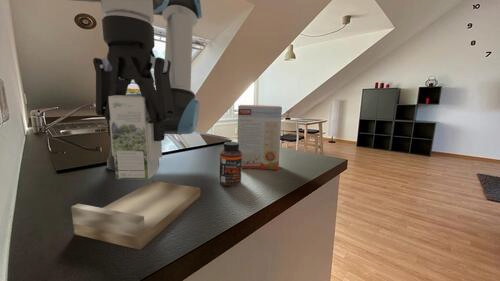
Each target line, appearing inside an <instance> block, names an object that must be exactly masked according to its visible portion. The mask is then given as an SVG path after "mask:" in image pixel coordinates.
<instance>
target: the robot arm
mask: <svg viewBox="0 0 500 281" xmlns="http://www.w3.org/2000/svg"><path fill="white" fill-rule="evenodd" d="M67 1H69V2H70V1H75V2H76V1H78V2H89V3H100V9H101V14H102V15H103V16H104V17H102V19H101V24H102V37H103V38H102V39H103V41H104V43H105V44H106V45H107V46H108V51H107V55H106V57H102V58H99V57H94V58H93V59H92V60H93V61H92V63H93V66H94V70H95V113H96V115H98V116H101V117H104V119H105V120H106V123H107V132H108V134H107V135H108V137H110V144H111V146H110V150H109V155H108V158H107V160H106V165H107V169H108V170H109V171H112V172H115V162H114V152H113V141H112V130H111V120H110V110H109V99H108V98H109V97H108V96H114V95H131V96H142V97H144V98H145V101H146V109H147V111H148V114H149V117H150V120H149V121H148V122H149V123H147V139H148V158H149V160H151V161H153V160H155V159H158V165H159V164H160V158H162V157H163V153H162V152H163V147H162V144H163V143H162V141H164V140H165V136H166V135H179V136H181V135H190V134H193V133H194V132H195V131H196V130H197V126H198V121H199V115H200V100H199V99H198V98H196V94H195V92H194V91H192V90H191V89H192V88H191V85H192V57H193V28H194V27H195V26H196V25H197V23H198V20H199V19H200V20H201V19H202V17H203V13H202V12H203V11H202V6H201V5H202V4H201V0H67ZM155 16H161V17H162V19H163V20H164V21H165V22H166V25H165V26H166V30H165V44H164V45H165V47H164V48H165V49H164V50H165V52H164V58H163V57H159V56H158V57H156V55H155V53H154V50H153V49H155V44H156V43H155V27H154V26H153V23H154V21H155V19H154V17H155ZM152 69H153V74H152V71H151V70H152ZM132 81H134V83H135V84H136V85H137V86H138V89H139V91H140V92H136V93H135V92H134V93H127V92H128V88H129V86H130V85H131V83H132ZM154 84H155V85H154Z"/></svg>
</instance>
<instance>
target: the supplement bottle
mask: <svg viewBox="0 0 500 281" xmlns="http://www.w3.org/2000/svg"><path fill="white" fill-rule="evenodd" d="M238 148H239V143H237V142H236V141H226V142H224V143H223V149H222V150H221V151H220V153H219V183H220V184H221V185H222V186H225V187H236V186H238V185H240V184H241V181H242V169H243V168H242V153H241V151H240V150H239V149H238Z"/></svg>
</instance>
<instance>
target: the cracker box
mask: <svg viewBox="0 0 500 281" xmlns="http://www.w3.org/2000/svg"><path fill="white" fill-rule="evenodd" d="M237 110H238V111H237V113H238V114H237V143H239V148H238V149H239V150H240V151H241V153H242V168H241V169H257V170H271V171H272V170H273V171H279V166H280V152H281V151H280V150H281V131H282V130H281V129H282V112H283V108H282V106H280V105H265V104H264V105H263V104H258V105H257V104H239V105H238V109H237Z"/></svg>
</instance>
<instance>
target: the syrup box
mask: <svg viewBox="0 0 500 281" xmlns="http://www.w3.org/2000/svg"><path fill="white" fill-rule="evenodd" d="M108 97H109V98H108V99H109V110H110V120H111V130H112V141H113V152H114V162H115V171H114V172H115V179H116V180H149V179H151V178H152V177H153V176H154V175H155V174H156V173H157V172H158V171H159V164H158V159H155V160H153V161H151V160H149V158H148V139H147V123H149V122H148V121H149V120H150V117H149V114H148V111H147V109H146V101H145V98H144V97H142V96H131V95H114V96H108Z"/></svg>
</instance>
